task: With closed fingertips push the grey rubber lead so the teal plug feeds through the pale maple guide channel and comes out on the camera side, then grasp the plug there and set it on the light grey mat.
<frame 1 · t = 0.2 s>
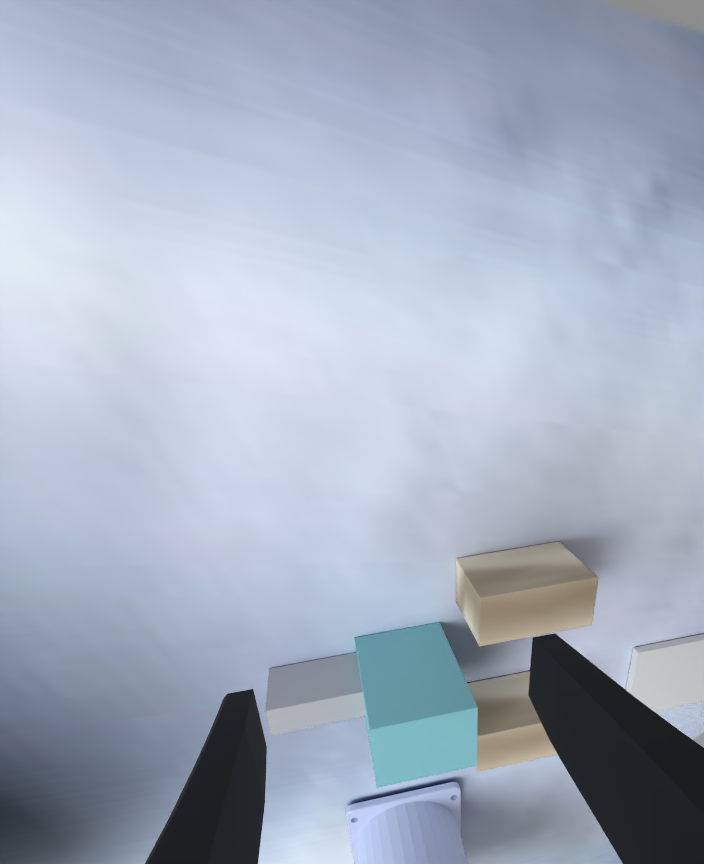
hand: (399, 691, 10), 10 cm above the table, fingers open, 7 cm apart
mat: (667, 673, 26), on the table
plug: (399, 656, 22), on the table
guide channel: (504, 636, 23), on the table
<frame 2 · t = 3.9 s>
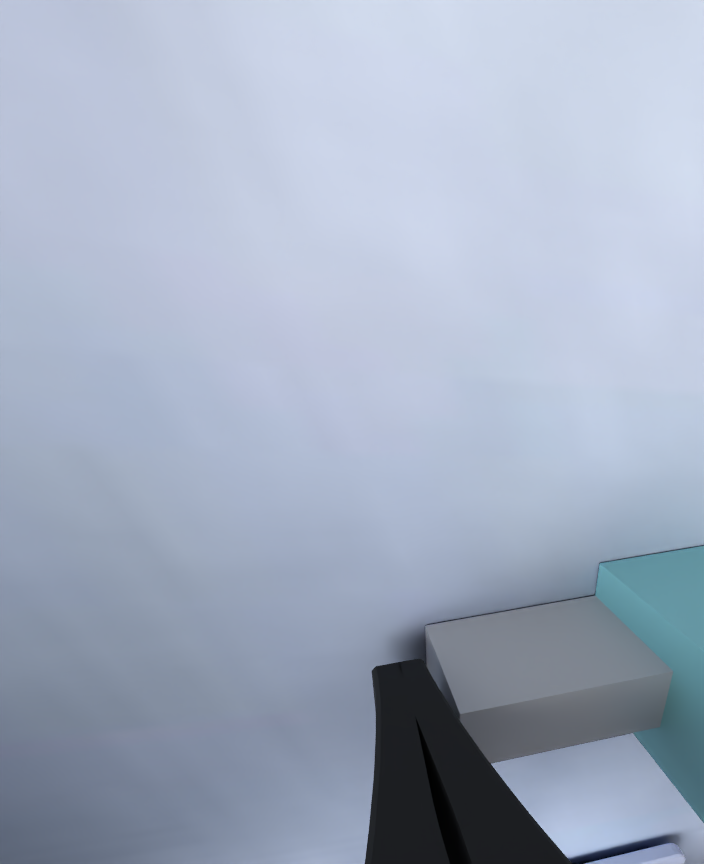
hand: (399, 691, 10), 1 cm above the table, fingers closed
plug: (669, 606, 11), on the table, touching gripper
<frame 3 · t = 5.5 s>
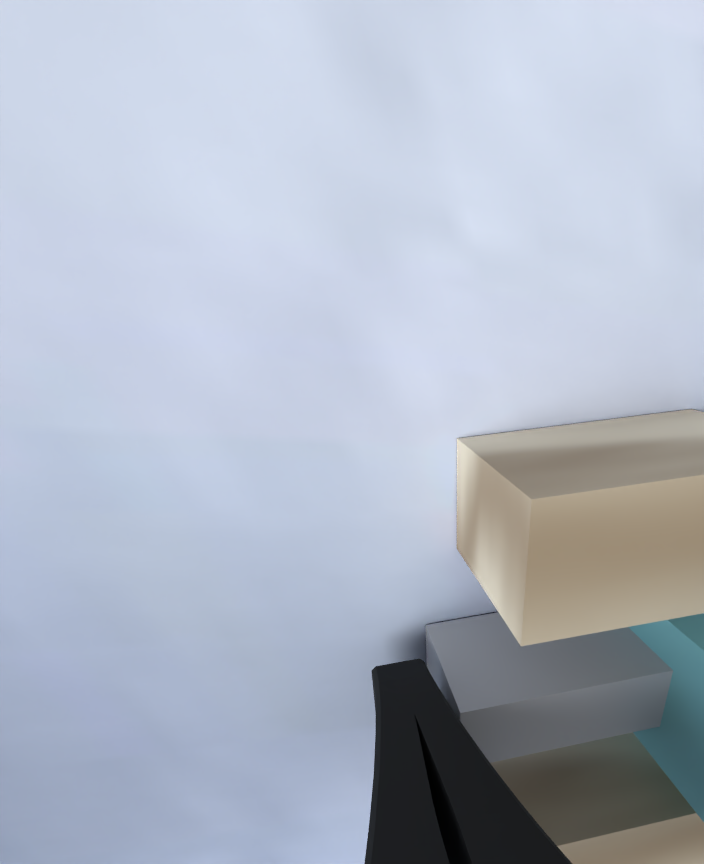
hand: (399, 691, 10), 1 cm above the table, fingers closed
plug: (669, 605, 11), on the table, touching gripper
guide channel: (555, 627, 11), on the table
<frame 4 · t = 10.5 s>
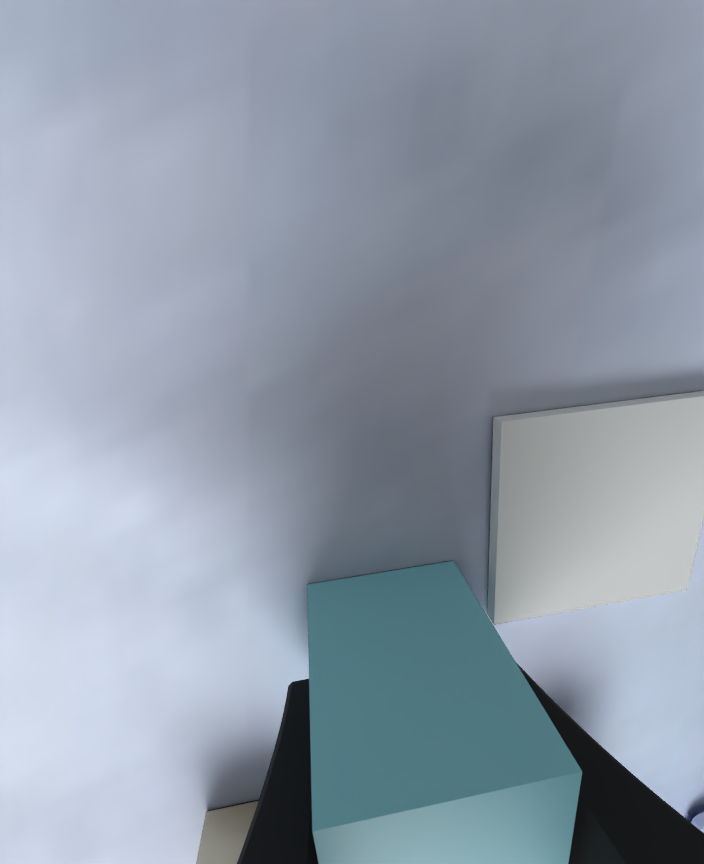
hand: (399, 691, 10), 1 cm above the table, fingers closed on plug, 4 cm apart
mat: (594, 508, 10), on the table
plug: (387, 644, 11), on the table, touching gripper
guide channel: (401, 826, 14), on the table
when the fingers open (3 cm above the table, at t = 13.3 s): plug stays where it is, resting on mat.
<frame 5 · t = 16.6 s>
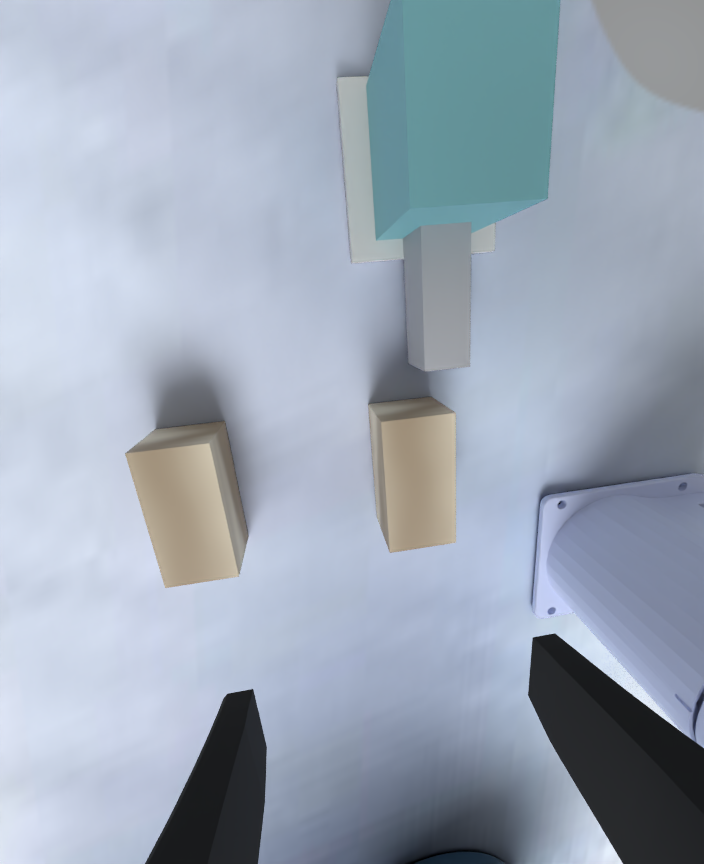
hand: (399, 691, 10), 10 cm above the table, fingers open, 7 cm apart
mat: (419, 174, 15), on the table
plug: (422, 164, 14), resting on mat
guide channel: (306, 472, 18), on the table
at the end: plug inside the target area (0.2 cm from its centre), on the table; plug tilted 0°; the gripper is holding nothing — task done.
